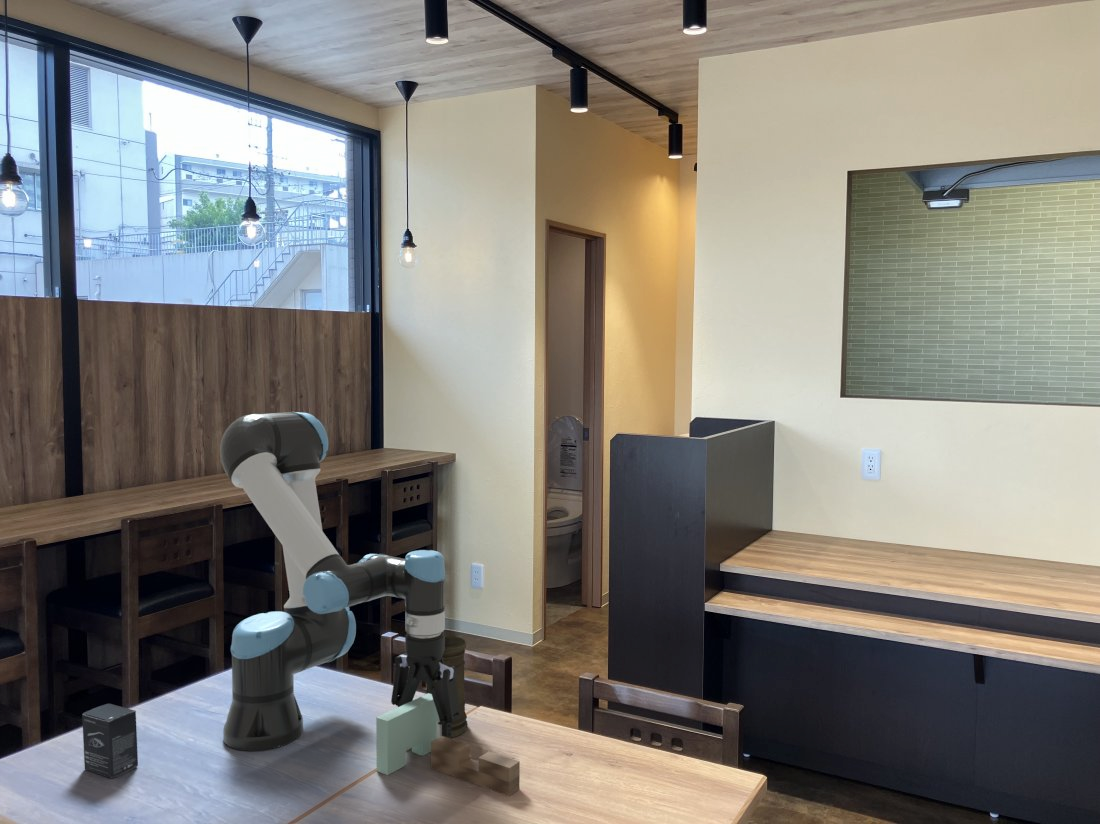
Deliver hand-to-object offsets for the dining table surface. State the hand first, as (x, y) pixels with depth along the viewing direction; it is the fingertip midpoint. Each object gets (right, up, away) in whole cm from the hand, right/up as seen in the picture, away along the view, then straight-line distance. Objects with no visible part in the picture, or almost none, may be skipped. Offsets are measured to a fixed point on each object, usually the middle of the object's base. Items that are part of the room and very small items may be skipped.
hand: (425, 747), depth 163 cm
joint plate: (-3, -1, -4) cm, 5 cm away
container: (+3, 0, +10) cm, 10 cm away
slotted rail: (+10, -1, -11) cm, 15 cm away
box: (-56, -1, -8) cm, 57 cm away
